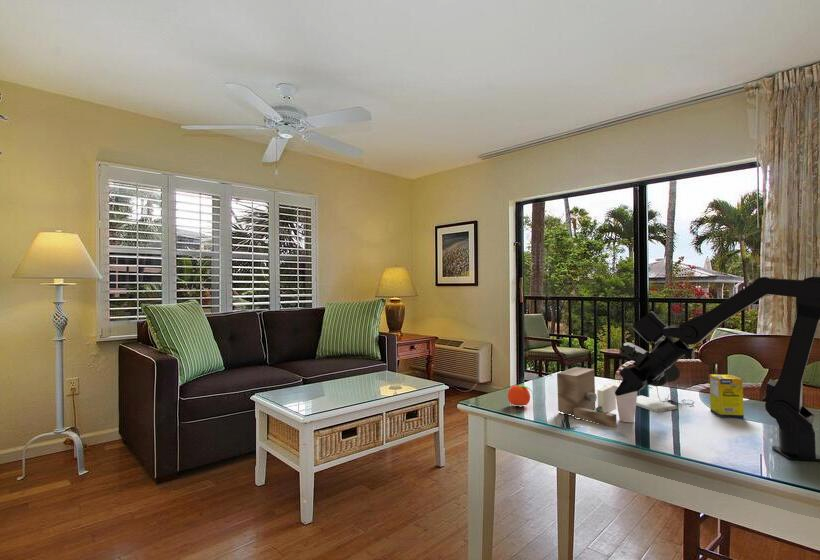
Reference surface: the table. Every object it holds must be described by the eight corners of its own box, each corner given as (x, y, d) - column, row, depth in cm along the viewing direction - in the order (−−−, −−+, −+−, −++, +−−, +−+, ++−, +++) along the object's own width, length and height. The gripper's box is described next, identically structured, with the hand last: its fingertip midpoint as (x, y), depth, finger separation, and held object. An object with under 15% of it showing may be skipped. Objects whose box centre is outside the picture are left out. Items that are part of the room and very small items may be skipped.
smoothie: (616, 423, 118) (614, 371, 118) (612, 415, 124) (611, 367, 124) (642, 424, 116) (640, 372, 116) (636, 417, 122) (635, 368, 122)
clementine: (536, 405, 137) (535, 383, 137) (530, 411, 131) (529, 388, 131) (511, 402, 141) (511, 381, 141) (505, 408, 135) (504, 385, 135)
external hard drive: (643, 400, 141) (677, 410, 130) (623, 403, 139) (656, 413, 127) (642, 395, 141) (677, 405, 130) (623, 398, 139) (656, 408, 127)
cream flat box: (615, 408, 126) (615, 385, 126) (599, 418, 118) (599, 392, 118) (610, 407, 127) (609, 384, 127) (594, 417, 119) (593, 391, 119)
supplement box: (744, 418, 119) (743, 378, 119) (720, 417, 121) (719, 378, 121) (733, 411, 125) (731, 374, 125) (710, 411, 126) (708, 374, 126)
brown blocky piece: (631, 415, 124) (630, 373, 125) (613, 427, 115) (612, 382, 115) (576, 404, 136) (575, 367, 136) (555, 414, 127) (554, 374, 127)
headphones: (681, 411, 127) (679, 343, 127) (642, 403, 136) (640, 340, 136) (702, 402, 135) (700, 338, 136) (664, 395, 145) (662, 335, 145)
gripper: (649, 330, 124) (611, 364, 132) (626, 337, 111) (585, 374, 119) (682, 360, 118) (640, 394, 126) (661, 371, 105) (616, 408, 113)
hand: (620, 392), depth 121 cm, fingers open, 6 cm apart
